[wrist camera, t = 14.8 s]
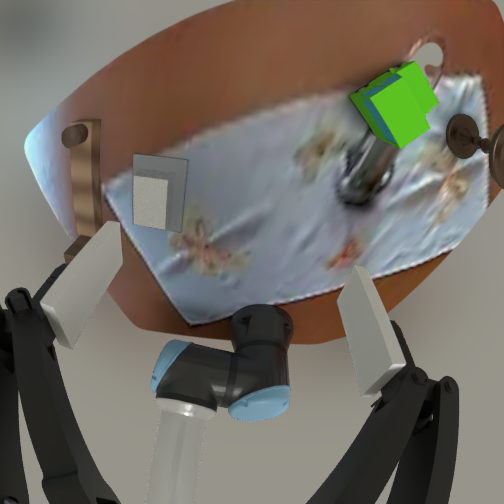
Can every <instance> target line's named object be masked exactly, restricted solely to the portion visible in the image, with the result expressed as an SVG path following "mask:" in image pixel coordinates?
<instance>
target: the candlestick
mask: <svg viewBox="0 0 504 504" xmlns="http://www.w3.org/2000/svg"><path fill="white" fill-rule="evenodd" d="M446 140H447V144H448V147H449V149H450V151H451V152H452V153H453V154H454V155H455V156H457V157H459V158H462V159H467V158H470V157H471V156H472V155H473V154H474V153H475V152H476V150H477V149H480V148H481V150H482V151H483V152H484V153H486V154H487V153H489V168H490V173H491V176H492V178H493V180H494V182H495V183H496V184H497V185H498V186H499V187H501V188H502V189H504V124H503V125H501V126H500V127H499V128H498V129H497V130H496V132H495V133H494V135H493V138H492V141H491V142H490V140H489V139H487V138H484V139H481V137H480V136H479V131H478V127H477V125H476V123H475V121H474V120H473V119H472V118H471V117H470V116H468V115H465V114H456V115H454V116H453V117H452V118H451V119H450V121H449V123H448V125H447V129H446Z"/></svg>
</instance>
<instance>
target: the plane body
mask: <svg viewBox="0 0 504 504" xmlns="http://www.w3.org/2000/svg"><path fill="white" fill-rule="evenodd" d="M100 126H101V120H78V121H74V122H71V126H70V127H67V128H66V129H64V131H63V133H62V143H63V144H64V146H65V147H67V148H70V156H71V178H72V192H73V202H74V211H75V219H76V226H77V233H78V239H77V240H76V241H75V242H74V243H73V244H72V245H71V246H70V247H69V248H68V249H67V251H66V252H65V253H64V257H65V261H66V264H68V265H69V264H70V263H71V261H72V260H73V259H74V258H75V257H76V255H77V254H78V253H79V252H80V251H81V250H82V248H83V247H84V246H85V245H86V244H87V243H88V242H89V241H90V239H91V238H92V237H93V236H94V235H95V234H96V233H97V232H98V231H99V230H100V229H101V228H102V226H103V224H102V212H101V196H100Z"/></svg>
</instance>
